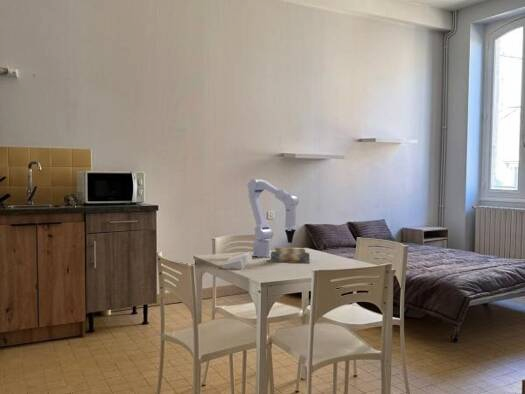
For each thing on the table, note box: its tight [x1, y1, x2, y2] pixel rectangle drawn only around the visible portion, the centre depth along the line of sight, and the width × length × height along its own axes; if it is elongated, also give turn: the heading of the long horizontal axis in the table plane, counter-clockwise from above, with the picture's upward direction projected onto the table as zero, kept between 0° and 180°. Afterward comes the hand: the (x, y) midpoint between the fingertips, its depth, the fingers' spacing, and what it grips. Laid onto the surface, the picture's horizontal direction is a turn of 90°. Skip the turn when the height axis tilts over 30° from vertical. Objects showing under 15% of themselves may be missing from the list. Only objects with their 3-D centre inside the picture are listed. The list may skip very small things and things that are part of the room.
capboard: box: [269, 250, 311, 264], centre depth 274 cm, size 21×11×4 cm, turn 83°
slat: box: [274, 246, 306, 260], centre depth 274 cm, size 16×2×6 cm, turn 83°
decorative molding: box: [220, 250, 253, 270], centre depth 263 cm, size 34×5×10 cm
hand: (290, 242), depth 278 cm, fingers closed
